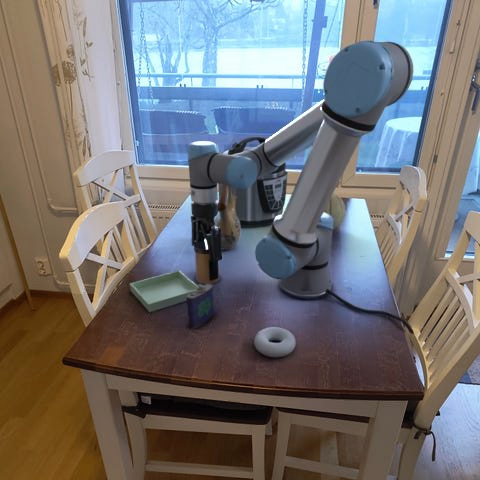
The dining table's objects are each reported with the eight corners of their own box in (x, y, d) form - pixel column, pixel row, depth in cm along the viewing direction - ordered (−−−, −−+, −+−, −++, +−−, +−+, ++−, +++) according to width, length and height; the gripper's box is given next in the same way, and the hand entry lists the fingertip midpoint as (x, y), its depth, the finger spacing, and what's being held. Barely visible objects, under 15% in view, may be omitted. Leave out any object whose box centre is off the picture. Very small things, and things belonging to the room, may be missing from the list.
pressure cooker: (224, 233, 164) (222, 146, 146) (209, 210, 187) (206, 132, 169) (296, 226, 170) (303, 142, 153) (274, 204, 193) (277, 129, 176)
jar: (224, 280, 131) (223, 245, 125) (202, 286, 128) (201, 251, 122) (212, 271, 137) (210, 237, 130) (191, 276, 133) (188, 242, 127)
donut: (298, 360, 98) (292, 334, 107) (299, 348, 97) (293, 323, 105) (255, 361, 98) (252, 335, 106) (255, 349, 96) (252, 324, 104)
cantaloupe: (326, 240, 158) (330, 200, 150) (297, 229, 168) (300, 191, 160) (351, 231, 166) (357, 192, 158) (322, 220, 176) (326, 184, 167)
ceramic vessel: (234, 258, 145) (233, 184, 131) (209, 255, 147) (206, 182, 133) (245, 240, 158) (246, 171, 144) (222, 237, 160) (220, 169, 146)
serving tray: (201, 296, 123) (201, 288, 122) (149, 312, 116) (148, 304, 114) (179, 277, 133) (179, 270, 132) (130, 290, 126) (129, 283, 124)
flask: (209, 311, 116) (207, 276, 110) (217, 314, 115) (216, 279, 109) (186, 326, 110) (183, 290, 104) (194, 330, 108) (192, 294, 103)
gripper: (176, 194, 124) (182, 265, 137) (210, 213, 110) (213, 290, 123) (199, 190, 128) (202, 259, 140) (234, 208, 113) (235, 284, 126)
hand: (207, 274), depth 131 cm, fingers closed on jar, 7 cm apart
